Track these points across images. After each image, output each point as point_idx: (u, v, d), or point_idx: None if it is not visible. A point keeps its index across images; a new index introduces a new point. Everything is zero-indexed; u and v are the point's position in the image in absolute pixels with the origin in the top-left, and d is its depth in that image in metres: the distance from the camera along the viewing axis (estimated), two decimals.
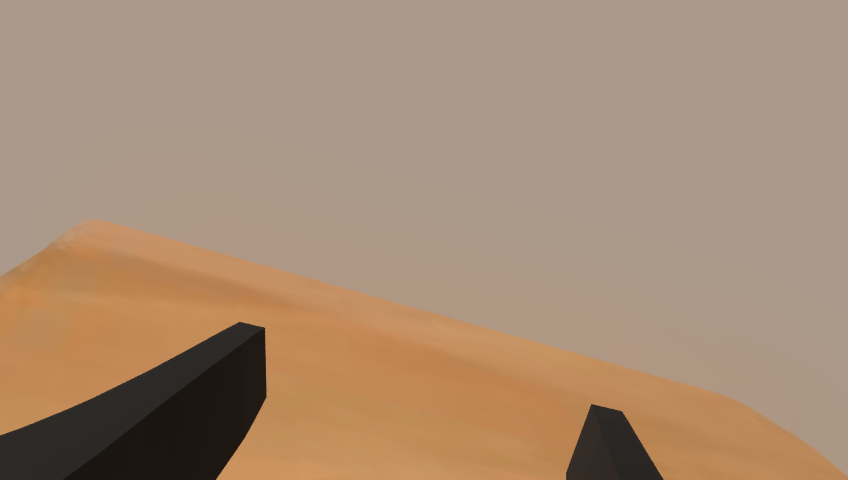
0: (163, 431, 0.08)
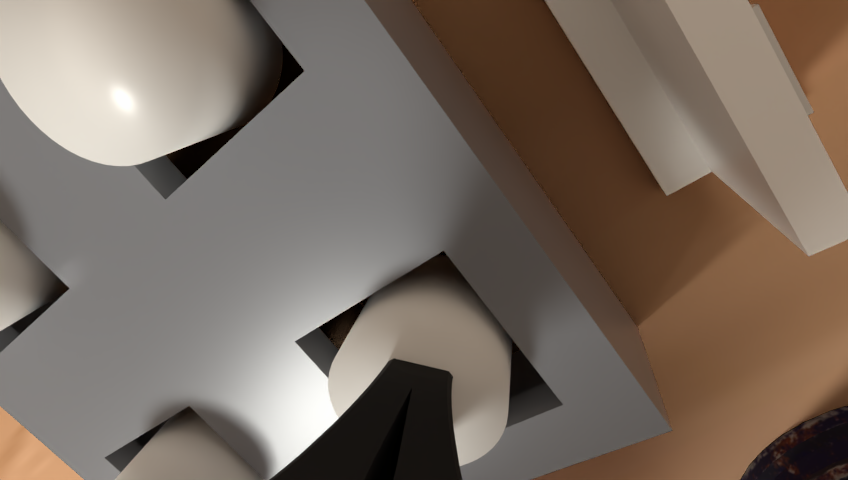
0: None
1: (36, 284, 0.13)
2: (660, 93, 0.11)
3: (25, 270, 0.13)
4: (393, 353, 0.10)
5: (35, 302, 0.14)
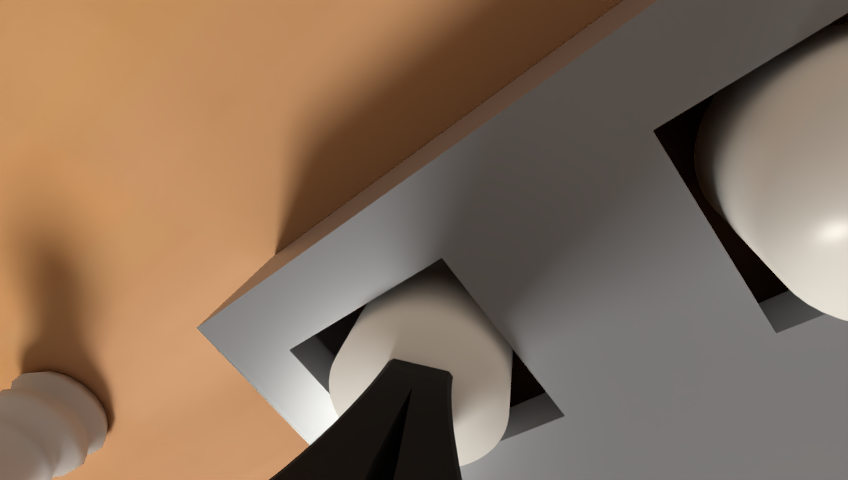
0: None
1: None
2: None
3: (511, 369, 0.12)
4: None
5: None
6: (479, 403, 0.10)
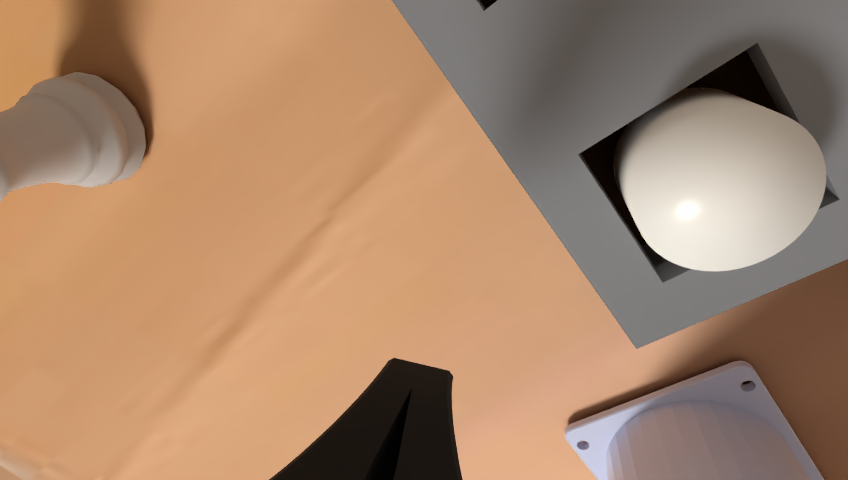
0: None
1: None
2: None
3: None
4: None
5: None
6: None
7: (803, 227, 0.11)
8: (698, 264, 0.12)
